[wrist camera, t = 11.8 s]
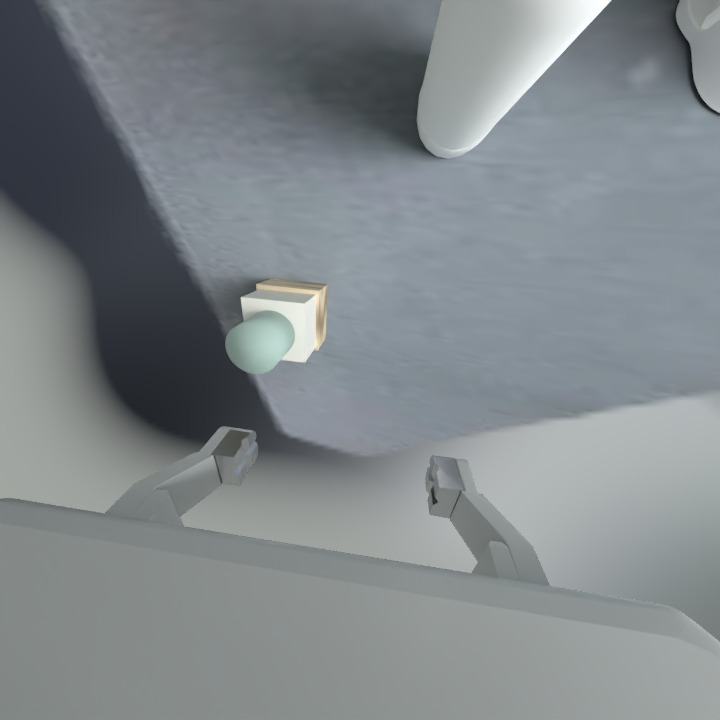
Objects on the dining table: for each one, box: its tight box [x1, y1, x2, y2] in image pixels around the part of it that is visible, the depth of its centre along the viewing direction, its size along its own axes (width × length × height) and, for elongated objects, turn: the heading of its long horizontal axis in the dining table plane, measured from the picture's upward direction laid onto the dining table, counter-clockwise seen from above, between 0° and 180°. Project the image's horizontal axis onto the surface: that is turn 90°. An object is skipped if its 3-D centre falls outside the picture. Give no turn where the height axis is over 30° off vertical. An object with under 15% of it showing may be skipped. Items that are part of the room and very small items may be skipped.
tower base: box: [256, 279, 327, 350], centre depth 36 cm, size 8×8×5 cm
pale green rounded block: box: [225, 310, 295, 374], centre depth 27 cm, size 5×5×5 cm
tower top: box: [241, 289, 316, 362], centre depth 31 cm, size 7×7×5 cm
